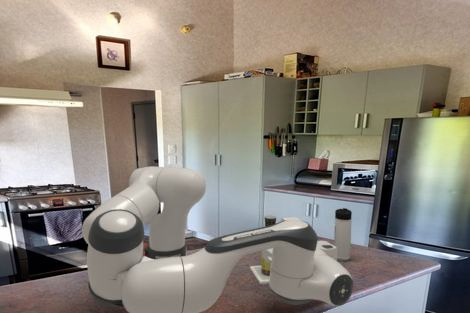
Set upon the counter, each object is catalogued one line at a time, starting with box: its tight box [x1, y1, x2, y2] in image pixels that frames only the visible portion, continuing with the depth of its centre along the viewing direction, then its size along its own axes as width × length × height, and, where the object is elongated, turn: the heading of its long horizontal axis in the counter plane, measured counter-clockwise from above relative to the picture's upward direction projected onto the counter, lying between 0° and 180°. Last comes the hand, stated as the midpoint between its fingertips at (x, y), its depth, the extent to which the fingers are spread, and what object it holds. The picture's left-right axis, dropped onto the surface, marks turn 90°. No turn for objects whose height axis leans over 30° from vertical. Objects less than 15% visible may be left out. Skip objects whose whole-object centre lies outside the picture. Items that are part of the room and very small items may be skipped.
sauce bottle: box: [260, 215, 277, 275], centre depth 105 cm, size 6×6×20 cm
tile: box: [249, 264, 270, 285], centre depth 106 cm, size 12×12×1 cm
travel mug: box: [333, 207, 353, 262], centre depth 120 cm, size 6×7×20 cm
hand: (287, 242), depth 93 cm, fingers open, 8 cm apart
